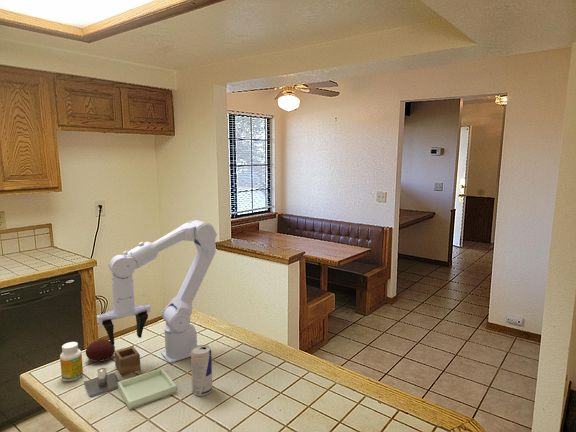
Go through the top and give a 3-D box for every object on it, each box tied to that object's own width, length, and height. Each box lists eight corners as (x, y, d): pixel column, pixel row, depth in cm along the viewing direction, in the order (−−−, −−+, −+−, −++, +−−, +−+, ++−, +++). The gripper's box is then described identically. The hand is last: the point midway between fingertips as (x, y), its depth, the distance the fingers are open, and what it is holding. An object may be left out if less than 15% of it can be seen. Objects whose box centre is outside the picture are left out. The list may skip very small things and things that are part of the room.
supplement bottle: (73, 382, 109) (71, 350, 108) (57, 380, 110) (54, 348, 109) (87, 372, 115) (84, 341, 113) (71, 370, 116) (68, 339, 114)
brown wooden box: (115, 366, 118) (114, 350, 117) (133, 360, 121) (132, 345, 121) (121, 376, 113) (120, 360, 112) (140, 370, 116) (139, 354, 115)
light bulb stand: (114, 374, 114) (113, 359, 113) (121, 386, 107) (120, 371, 107) (84, 383, 109) (82, 368, 108) (89, 397, 103) (88, 381, 102)
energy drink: (216, 387, 107) (214, 346, 106) (205, 398, 102) (204, 355, 101) (199, 383, 109) (197, 343, 107) (188, 394, 104) (186, 352, 102)
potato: (94, 352, 126) (93, 335, 126) (120, 353, 126) (118, 335, 125) (82, 364, 119) (80, 346, 118) (108, 365, 119) (107, 346, 118)
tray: (162, 374, 114) (161, 367, 113) (176, 392, 105) (176, 385, 105) (118, 388, 106) (117, 382, 106) (129, 409, 98) (129, 402, 97)
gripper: (144, 287, 121) (146, 329, 123) (93, 297, 112) (96, 341, 114) (151, 293, 116) (153, 337, 118) (98, 304, 107) (101, 351, 109)
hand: (126, 340), depth 116 cm, fingers open, 7 cm apart
